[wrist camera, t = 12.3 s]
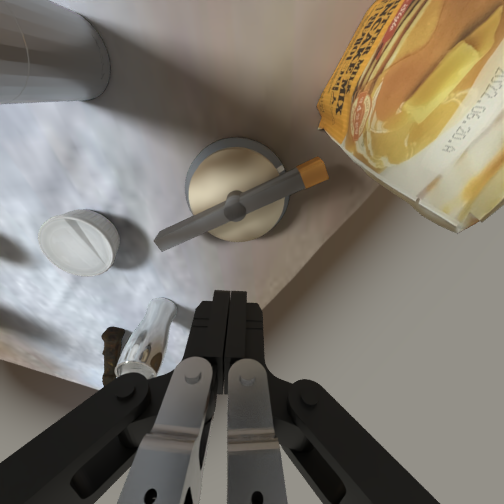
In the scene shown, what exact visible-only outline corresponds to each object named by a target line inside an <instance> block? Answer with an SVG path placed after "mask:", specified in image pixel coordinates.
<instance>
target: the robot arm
mask: <svg viewBox="0 0 504 504" xmlns="http://www.w3.org/2000/svg"><path fill="white" fill-rule="evenodd" d="M109 78H110V60H109V56H108V53H107V49H106V47H105V45H104V43H103V40H102V39H101V37H100V36H99V34H98V32H97V31H96V30H95V29H94V27H93V26H92V25H91V24H90V23H89V22H88V21H87V20H86V19H84V18H83V17H82V16H81V15H79V14H77V13H75V12H74V11H72V10H70V9H67V8H65V7H63V6H61V5H58V4H56V3H54V2H52V1H50V0H0V104H17V103H37V102H58V101H81V100H90V99H94V98H96V97H98V96H99V95H100V94H101V93H102V92H104V90H105V88H106V87H107V85H108V82H109ZM246 302H247V292H246V291H231V300H230V291H222V290H215V291H214V296H213V301H202V302H201V303H200V305H199V306H198V307H197V308H196V311H195V314H194V319H193V322H192V327H191V330H190V334H189V337H188V341H187V345H186V349H185V353H184V356H183V359H182V361H181V362H180V363H179V364H178V365H177V366H176V368H175V369H174V370H173V371H171V372H169V373H167V374H165V375H162V376H158V377H154V378H151V379H146V377H145V376H144V375H142V374H140V373H136V372H130V373H126V374H123V375H121V376H119V377H117V378H116V379H114V380H113V381H112V382H110V383H109V384H107V385H106V386H105V387H103V388H102V389H101V390H99V391H98V392H97V393H95V394H94V395H92V396H91V397H90V398H88V399H87V400H86V401H84V402H83V403H82V404H80V405H79V406H78V407H76V408H75V409H73V410H72V411H71V412H69V413H68V414H66V415H65V416H64V417H62V418H61V419H60V420H58V421H57V422H56V423H54V424H53V425H51V426H50V427H49V428H47V429H46V430H45V431H43V432H42V433H41V434H39V435H38V436H36V437H35V438H34V439H32V440H31V441H30V442H28V443H27V444H26V445H24V446H23V447H21V448H20V449H19V450H17V451H16V452H15V453H13V454H12V455H11V456H9V457H8V458H7V459H5V460H4V461H2V462H1V463H0V504H94V503H95V502H96V501H97V500H98V499H99V498H100V497H101V496H102V495H103V494H104V493H105V492H106V491H107V490H108V489H109V488H110V487H111V486H112V485H113V484H114V483H115V482H116V481H117V480H118V479H119V478H120V477H121V476H122V475H123V474H124V472H126V471H127V469H128V468H129V467H131V468H130V471H129V474H128V476H127V479H126V482H125V484H124V487H123V489H122V492H121V494H120V497H119V499H118V502H117V504H199V501H200V495H201V487H202V477H203V470H204V465H205V459H206V454H207V449H208V444H209V438H210V433H211V428H212V423H213V418H214V412H215V407H216V399H217V394H223V386H224V394H228V422H227V423H228V424H227V426H228V427H227V431H228V432H227V504H288V503H287V496H286V488H285V482H284V474H283V467H282V460H281V453H280V446H279V444H281V446H282V448H283V450H284V451H285V452H286V454H287V455H288V457H289V458H290V459H291V461H292V462H293V464H294V465H295V466H296V468H297V469H298V470H299V472H300V473H301V474H302V476H303V477H304V478H305V480H306V481H307V483H308V484H309V485H310V487H311V488H312V489H313V491H314V492H315V493H316V495H317V496H318V497H319V499H320V500H321V502H322V503H323V504H440V503H439V502H438V501H437V500H436V499H434V497H433V496H432V495H431V494H430V493H429V492H428V491H427V490H426V489H424V487H423V486H422V485H421V484H419V482H418V481H417V480H416V479H414V478H413V476H412V475H411V474H410V473H408V471H407V470H406V469H404V468H403V467H402V466H401V465H400V464H399V463H398V462H397V461H396V460H395V459H394V458H393V457H392V456H391V455H390V454H389V453H388V452H387V451H386V450H385V449H384V448H383V447H382V446H381V445H380V444H379V443H378V442H377V441H376V440H375V439H374V438H373V437H372V436H371V435H370V434H369V433H368V432H367V431H366V430H365V429H364V428H363V427H362V426H361V425H360V424H359V423H358V422H357V421H356V420H355V419H354V418H353V417H352V416H351V415H350V414H349V413H348V412H347V411H346V410H345V409H344V408H343V407H342V406H341V405H340V404H339V403H338V402H337V401H336V400H335V399H334V398H333V397H332V396H331V395H330V394H329V393H328V392H327V391H326V390H325V389H324V388H323V387H322V386H321V385H319V384H318V383H316V382H314V381H311V380H307V379H303V380H298V381H296V382H295V383H293V384H292V383H289V382H286V381H284V380H281V379H279V378H277V377H275V376H274V375H273V374H272V373H271V372H270V371H269V370H268V368H267V367H266V364H265V359H264V337H263V317H262V316H263V315H262V310H261V308H260V307H259V305H258V303H246Z"/></svg>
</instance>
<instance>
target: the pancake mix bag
mask: <svg viewBox="0 0 504 504" xmlns="http://www.w3.org/2000/svg"><path fill="white" fill-rule="evenodd" d="M316 107H317V109H318V111H319V113H320V115H321V121H320V124H319V127H318V130H319V129H323V128H324V130H325V131H326V133H327V134H328V135H329V136H330V137H331V139H332V140H333V141H334V142H336V143H337V144H338V145H339V146H340V147H341V148H342V149H343V151H344V152H345V153H346V154H347V155H348V156H349V157H350V158H351V159H352V160H353V162H354V163H356V164H357V165H359V166H360V167H362V169H363V170H364V171H365V173H366V174H367V175H368V176H369V177H371V178H372V179H374V180H375V181H376V182H378V183H379V184H381V185H382V186H384V187H385V188H387V189H388V190H389V191H391V192H392V193H394V194H395V195H397V196H398V197H400V198H401V199H403V200H404V201H406V202H408V203H409V204H410V205H411V206H412V207H413V208H414V209H416V211H418V212H419V213H420V214H421V215H422V216H424V217H426V218H427V219H429V220H431V221H432V222H434V223H436V224H437V225H439V226H441V227H444V228H446V229H448V230H450V231H453V232H455V233H457V234H458V233H460V232H462V231H463V230H465V229H467V228H469V227H470V226H472V225H474V224H476V223H477V222H479V221H481V222H483V221H484V220H486V219H487V218H488V217H489V216H491V215H492V214H493V213H494V212H496V211H497V210H498V209H499V208H501V207H502V206H503V205H504V0H376V1H375V2H374V4H373V5H372V6H371V7H370V8H369V9H368V11H367V12H366V14H365V15H364V17H363V19H362V21H361V23H360V25H359V26H358V28H357V30H356V32H355V34H354V36H353V38H352V40H351V41H350V43H349V45H348V47H347V49H346V51H345V53H344V55H343V56H342V58H341V60H340V62H339V64H338V66H337V68H336V70H335V71H334V73H333V75H332V77H331V79H330V80H329V82H328V84H327V86H326V87H325V89H324V91H323V93H322V95H321V97H320V99H319V101H318V104H317V106H316Z"/></svg>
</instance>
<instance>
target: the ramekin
mask: <svg viewBox="0 0 504 504" xmlns="http://www.w3.org/2000/svg"><path fill="white" fill-rule="evenodd" d="M38 241H39V245H40V248H41V250H42V251H43V253H44V254H45V256H46V257H47V258H48V259H49V260H50V261H51V262H52V263H53V264H54V265H56V266H57V267H58V268H60V269H62V270H63V271H65V272H68V273H71V274H74V275H78V276H96V275H100V274H102V273H104V272H106V271H107V270H108V269H109V268H110V267H111V266H112V264H113V263H114V260H115V256H116V254H117V251H118V249H119V245H120V237H119V234H118V232H117V230H116V228H115V226H114V225H113V224H112V223H111V222H110V221H109V220H108V219H107V218H105V217H104V216H102V215H101V214H99V213H96V212H94V211H90V210H84V209H83V210H74V211H70V212H68V213H65V214H62V215H57V216H54V217H52V218H50V219H49V220H47V221H46V222H45V223H44V224H43V225H42V226H41V228H40V230H39V233H38Z"/></svg>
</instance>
